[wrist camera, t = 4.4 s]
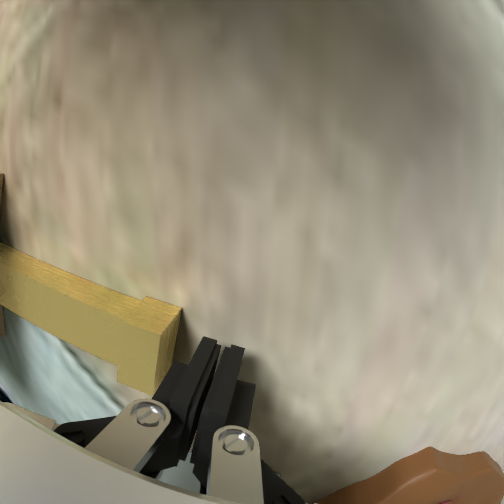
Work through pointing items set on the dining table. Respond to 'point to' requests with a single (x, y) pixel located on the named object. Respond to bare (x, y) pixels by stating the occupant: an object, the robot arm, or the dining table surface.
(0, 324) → the socket block
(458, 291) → the dining table surface
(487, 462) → the plant
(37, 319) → the bar
